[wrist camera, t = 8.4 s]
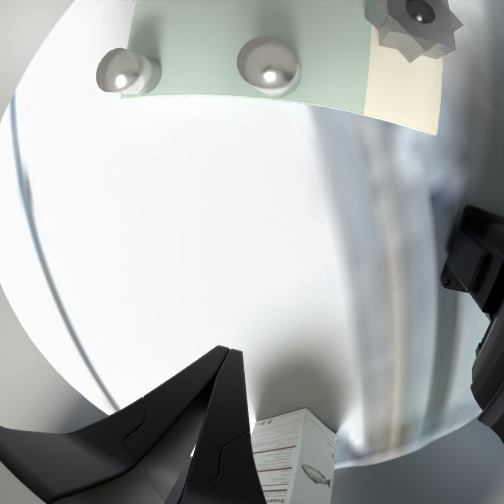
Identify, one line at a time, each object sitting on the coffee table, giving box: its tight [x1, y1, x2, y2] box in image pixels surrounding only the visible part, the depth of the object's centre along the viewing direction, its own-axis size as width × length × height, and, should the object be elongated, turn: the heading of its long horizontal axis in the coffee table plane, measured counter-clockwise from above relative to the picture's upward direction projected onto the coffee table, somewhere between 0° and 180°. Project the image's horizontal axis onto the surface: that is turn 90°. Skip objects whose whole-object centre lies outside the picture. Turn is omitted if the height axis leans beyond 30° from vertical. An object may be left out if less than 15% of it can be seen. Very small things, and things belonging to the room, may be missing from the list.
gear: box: [365, 0, 463, 63], centre depth 10 cm, size 6×6×3 cm
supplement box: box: [251, 408, 337, 504], centre depth 23 cm, size 7×7×13 cm
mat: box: [121, 0, 443, 135], centre depth 13 cm, size 22×13×1 cm, turn 84°
